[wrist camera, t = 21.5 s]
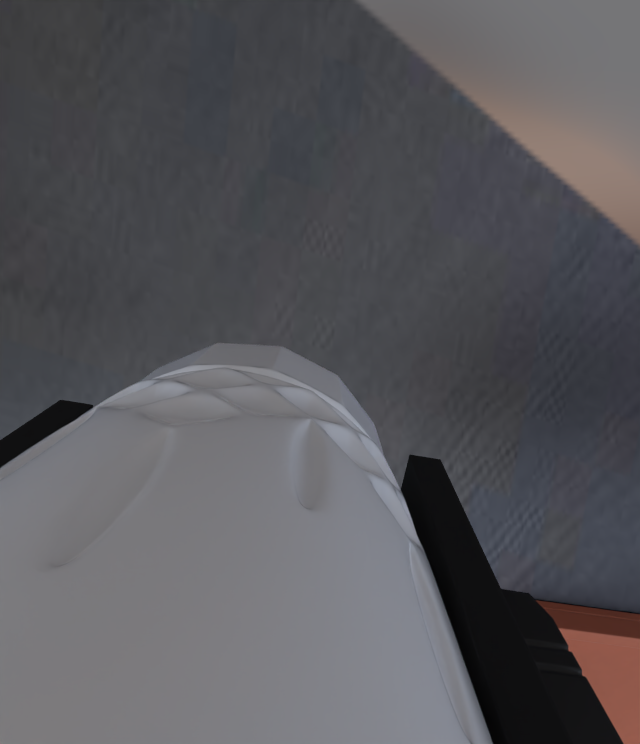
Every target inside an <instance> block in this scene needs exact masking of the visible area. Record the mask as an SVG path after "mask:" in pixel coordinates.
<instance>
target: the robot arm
mask: <svg viewBox="0 0 640 744" xmlns="http://www.w3.org/2000/svg"><path fill="white" fill-rule="evenodd" d="M92 408H93V405H90V404H84V403H77V402H71V401H65V400H60V401H58V402H57V403H55V404H54V405H52V406H51V407H49V408H48V409H46V410H45V411H43V412H42V413H40V414H39V415H37V416H36V417H34V418H33V419H31V420H30V421H28V422H27V423H25V424H24V425H22V426H21V427H19V428H18V429H16V430H15V431H13V432H12V433H10V434H9V435H8V436H6V437H5V438H3V439H2V440H0V467H1V466H3V465H4V464H6V463H7V462H9V461H10V460H12V459H13V458H15V457H16V456H18V455H19V454H21V453H22V452H24V451H25V450H27V449H28V448H30V447H31V446H33V445H34V444H36V443H38V442H39V441H41V440H42V439H44V438H46V437H47V436H49V435H50V434H52V433H54V432H55V431H57V430H59V429H60V428H62V427H64V426H65V425H67V424H69V423H71V422H72V421H74V420H76V419H77V418H78V417H80V416H81V415H82V414H84V413H86V412H87V411H89V410H90V409H92ZM401 492H402V494H403V496H404V498H405V501H406V504H407V507H408V510H409V512H410V515H411V518H412V521H413V524H414V527H415V530H416V533H417V536H418V538H419V541H420V543H421V545H422V547H423V549H424V551H425V554H426V556H427V559H428V561H429V564H430V566H431V569H432V572H433V574H434V577H435V580H436V583H437V585H438V588H439V591H440V594H441V597H442V600H443V602H444V605H445V608H446V611H447V614H448V617H449V619H450V622H451V625H452V628H453V631H454V634H455V636H456V639H457V642H458V645H459V648H460V651H461V653H462V656H463V659H464V662H465V665H466V668H467V670H468V673H469V676H470V679H471V682H472V685H473V688H474V690H475V693H476V696H477V699H478V702H479V705H480V707H481V710H482V713H483V716H484V719H485V722H486V724H487V727H488V730H489V733H490V736H491V739H492V741H493V744H624V743H623V742H622V740H621V738H620V736H619V735H618V733H617V731H616V729H615V727H614V726H613V724H612V722H611V720H610V719H609V717H608V715H607V713H606V711H605V710H604V708H603V706H602V704H601V703H600V701H599V699H598V697H597V696H596V694H595V692H594V690H593V688H592V687H591V685H590V683H589V681H588V680H587V678H586V677H585V676H583V675H582V669H581V667H580V665H579V664H578V662H577V660H576V658H575V657H574V655H573V653H572V652H570V651H569V650H568V644H567V642H566V641H565V639H564V637H563V635H562V633H561V632H560V630H559V628H558V626H557V625H556V623H555V621H554V619H553V618H552V617H551V616H550V615H549V614H548V613H547V612H546V611H545V610H544V609H543V607H542V606H541V605H540V604H539V603H538V602H537V601H536V600H535V599H534V598H533V597H532V596H531V595H530V594H529V593H523V592H516V591H510V590H503V589H501V588H500V586H499V584H498V582H497V580H496V578H495V575H494V573H493V571H492V569H491V567H490V565H489V563H488V560H487V558H486V556H485V554H484V552H483V550H482V548H481V545H480V543H479V541H478V539H477V537H476V535H475V533H474V531H473V528H472V526H471V524H470V522H469V520H468V518H467V516H466V513H465V511H464V509H463V507H462V505H461V503H460V501H459V498H458V496H457V494H456V492H455V490H454V488H453V486H452V483H451V481H450V479H449V477H448V475H447V473H446V471H445V468H444V466H443V464H442V462H441V460H440V459H434V458H427V457H421V456H415V455H410V456H409V459H408V463H407V467H406V471H405V475H404V479H403V483H402V487H401Z"/></svg>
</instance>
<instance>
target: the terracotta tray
mask: <svg viewBox="0 0 640 744" xmlns="http://www.w3.org/2000/svg"><path fill="white" fill-rule="evenodd" d="M536 601H537V602H538V603H539V604H540V605H541V606H542V607H543V609H544V610H545V611H546V612H547V613H548V614H549V615H550V616H551V617H552V618H553V619H554V621H555V623H556V625H557V626H558V628H559V630H560V632H561V633H562V635H563V637H564V639H565V641H566V642H567V644H568V650H569V651H570V652H572V653H573V655H574V657H575V658H576V660H577V662H578V664H579V665H580V667H581V669H582V675H583V676H585V677H586V678H587V680H588V681H589V683H590V685H591V687H592V688H593V690H594V692H595V694H596V696H597V697H598V699H599V701H600V703H601V704H602V706H603V708H604V710H605V711H606V713H607V715H608V717H609V719H610V720H611V722H612V724H613V726H614V727H615V729H616V731H617V733H618V735H619V736H620V738H621V740H622V742H623V743H624V744H640V614H634V613H626V612H619V611H612V610H604V609H597V608H590V607H582V606H575V605H568V604H560V603H553V602H546V601H538V600H536Z"/></svg>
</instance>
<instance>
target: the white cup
mask: <svg viewBox="0 0 640 744" xmlns="http://www.w3.org/2000/svg"><path fill="white" fill-rule="evenodd" d="M0 744H493V741H492V739H491V736H490V733H489V730H488V727H487V724H486V722H485V719H484V716H483V713H482V710H481V707H480V705H479V702H478V699H477V696H476V693H475V690H474V688H473V685H472V682H471V679H470V676H469V673H468V670H467V668H466V665H465V662H464V659H463V656H462V653H461V651H460V648H459V645H458V642H457V639H456V636H455V634H454V631H453V628H452V625H451V622H450V619H449V617H448V614H447V611H446V608H445V605H444V602H443V600H442V597H441V594H440V591H439V588H438V585H437V583H436V580H435V577H434V574H433V572H432V569H431V566H430V564H429V561H428V559H427V556H426V554H425V551H424V549H423V547H422V545H421V543H420V541H419V538H418V536H417V533H416V530H415V527H414V524H413V521H412V518H411V515H410V512H409V510H408V507H407V504H406V501H405V498H404V496H403V494H402V492H401V490H400V488H399V485H398V483H397V481H396V479H395V477H394V475H393V473H392V471H391V469H390V467H389V465H388V463H387V461H386V460H385V457H384V453H383V450H382V447H381V444H380V440H379V437H378V434H377V431H376V428H375V425H374V423H373V421H372V420H371V419H370V417H369V416H368V415H367V413H366V412H365V411H364V409H363V408H362V407H361V405H360V404H359V403H358V401H357V400H356V399H355V397H354V396H353V395H352V393H351V392H350V391H349V389H348V388H347V387H346V385H345V384H344V383H343V381H342V380H341V379H340V377H339V376H338V375H336V374H334V373H333V372H331V371H329V370H327V369H325V368H323V367H321V366H319V365H317V364H315V363H313V362H311V361H310V360H308V359H306V358H304V357H302V356H300V355H298V354H296V353H294V352H292V351H290V350H288V349H287V348H285V347H283V346H273V345H253V344H233V343H215V344H213V345H210V346H208V347H206V348H203V349H201V350H199V351H196V352H194V353H192V354H189V355H187V356H184V357H182V358H180V359H177V360H175V361H173V362H170V363H168V364H165V365H163V366H161V367H159V368H158V369H156V370H155V371H153V372H152V373H150V374H149V375H148V376H146V377H145V378H144V379H142V380H141V381H140V382H137V383H135V384H133V385H131V386H129V387H127V388H125V389H124V390H122V391H120V392H118V393H116V394H115V395H113V396H111V397H109V398H108V399H106V400H105V401H103V402H101V403H100V404H98V405H97V406H95V407H93V408H92V409H90V410H89V411H87V412H86V413H84V414H82V415H81V416H80V417H78V418H77V419H76V420H74V421H72V422H71V423H69V424H67V425H65V426H64V427H62V428H60V429H59V430H57V431H55V432H54V433H52V434H50V435H49V436H47V437H46V438H44V439H42V440H41V441H39V442H38V443H36V444H34V445H33V446H31V447H30V448H28V449H27V450H25V451H24V452H22V453H21V454H19V455H18V456H16V457H15V458H13V459H12V460H10V461H9V462H7V463H6V464H4V465H3V466H1V467H0Z"/></svg>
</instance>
